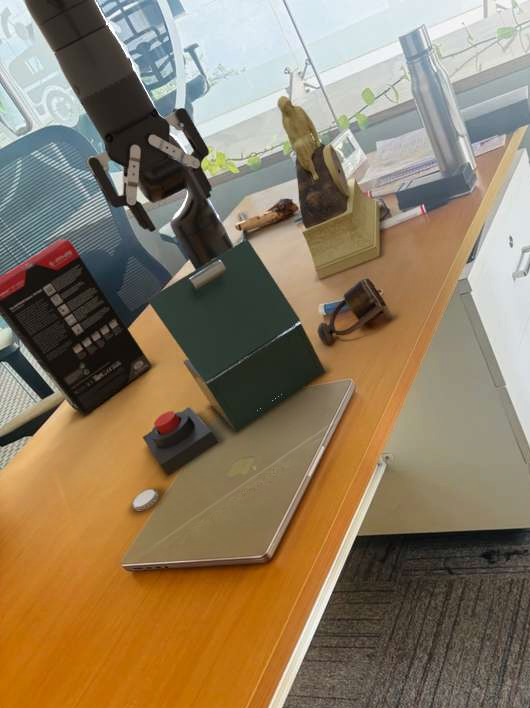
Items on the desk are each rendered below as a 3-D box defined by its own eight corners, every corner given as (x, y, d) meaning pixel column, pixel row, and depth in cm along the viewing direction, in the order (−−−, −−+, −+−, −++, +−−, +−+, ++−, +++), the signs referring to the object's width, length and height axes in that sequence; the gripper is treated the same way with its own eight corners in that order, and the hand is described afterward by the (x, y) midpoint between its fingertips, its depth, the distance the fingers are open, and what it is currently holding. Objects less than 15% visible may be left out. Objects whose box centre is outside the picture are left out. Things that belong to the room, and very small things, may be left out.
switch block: (150, 447, 112) (135, 428, 110) (196, 416, 114) (183, 397, 111) (168, 476, 103) (153, 456, 100) (218, 442, 104) (205, 422, 102)
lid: (147, 300, 97) (145, 291, 91) (246, 240, 100) (250, 228, 94) (204, 382, 99) (205, 378, 94) (299, 321, 102) (305, 314, 97)
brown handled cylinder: (377, 305, 105) (384, 262, 111) (301, 318, 109) (311, 277, 115) (391, 339, 111) (397, 297, 116) (318, 350, 115) (327, 309, 120)
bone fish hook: (304, 204, 182) (245, 226, 187) (297, 187, 179) (237, 209, 184) (298, 217, 175) (236, 238, 180) (290, 198, 172) (228, 221, 177)
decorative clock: (379, 256, 134) (315, 93, 116) (319, 279, 138) (248, 124, 119) (379, 207, 156) (325, 63, 137) (327, 228, 159) (267, 90, 140)
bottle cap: (146, 490, 102) (144, 487, 101) (163, 492, 99) (161, 489, 99) (129, 509, 100) (126, 506, 99) (145, 512, 97) (143, 509, 97)
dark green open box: (211, 405, 114) (183, 361, 109) (294, 351, 118) (270, 306, 112) (236, 431, 105) (206, 384, 99) (325, 372, 108) (301, 323, 102)
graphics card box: (141, 360, 142) (56, 237, 126) (156, 365, 137) (69, 237, 121) (74, 411, 136) (-25, 288, 119) (87, 417, 131) (-15, 290, 114)
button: (157, 429, 107) (151, 421, 106) (177, 417, 108) (171, 408, 107) (163, 437, 104) (157, 429, 103) (183, 424, 105) (177, 415, 104)
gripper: (149, 55, 85) (216, 185, 95) (47, 110, 82) (127, 237, 92) (165, 51, 79) (234, 189, 89) (56, 110, 76) (140, 245, 86)
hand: (179, 213), depth 90 cm, fingers open, 8 cm apart
